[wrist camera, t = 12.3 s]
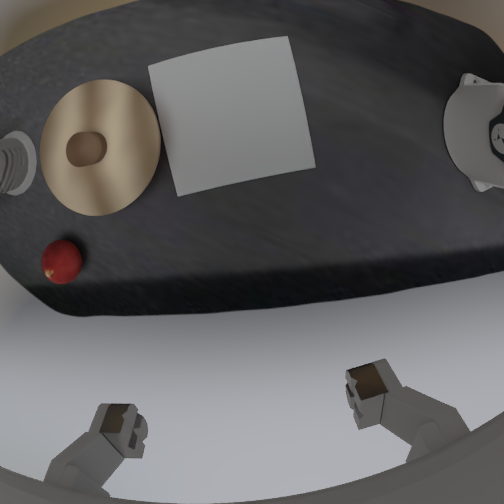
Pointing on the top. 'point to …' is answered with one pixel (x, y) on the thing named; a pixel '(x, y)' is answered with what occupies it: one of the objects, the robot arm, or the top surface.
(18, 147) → the french press
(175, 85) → the mat
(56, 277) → the pomegranate
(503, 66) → the top surface
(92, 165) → the lid
